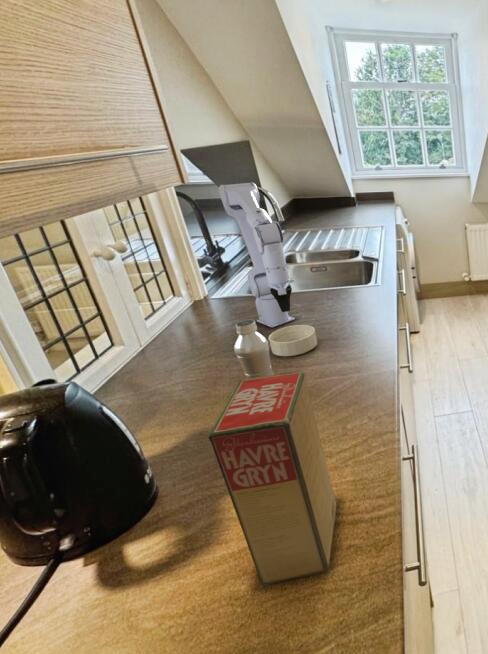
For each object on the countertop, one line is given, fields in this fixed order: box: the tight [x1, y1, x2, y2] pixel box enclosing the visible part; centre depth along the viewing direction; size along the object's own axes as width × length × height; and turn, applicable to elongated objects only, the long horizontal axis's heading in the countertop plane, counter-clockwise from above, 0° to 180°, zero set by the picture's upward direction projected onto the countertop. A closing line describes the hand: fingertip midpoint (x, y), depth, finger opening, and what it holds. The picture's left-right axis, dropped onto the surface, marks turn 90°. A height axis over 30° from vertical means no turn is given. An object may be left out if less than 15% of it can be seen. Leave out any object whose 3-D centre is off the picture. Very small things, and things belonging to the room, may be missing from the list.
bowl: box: [267, 324, 318, 357], centre depth 127 cm, size 12×12×4 cm
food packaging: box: [207, 370, 337, 586], centre depth 63 cm, size 13×9×25 cm
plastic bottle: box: [233, 319, 275, 379], centre depth 98 cm, size 6×7×20 cm
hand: (285, 310), depth 134 cm, fingers closed
